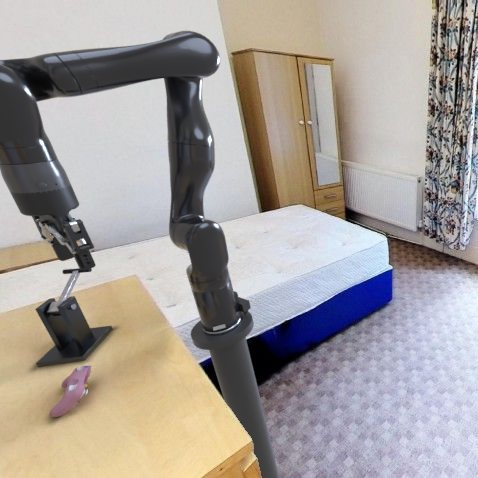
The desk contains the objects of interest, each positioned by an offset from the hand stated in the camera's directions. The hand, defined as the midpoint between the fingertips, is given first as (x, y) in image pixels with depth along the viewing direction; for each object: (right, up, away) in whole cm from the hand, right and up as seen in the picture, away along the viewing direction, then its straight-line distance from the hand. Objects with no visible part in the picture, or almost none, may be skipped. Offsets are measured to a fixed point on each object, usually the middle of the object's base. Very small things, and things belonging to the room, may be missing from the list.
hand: (77, 263), depth 65 cm
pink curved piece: (-5, -29, +4) cm, 30 cm away
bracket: (-19, -23, +18) cm, 35 cm away
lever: (-20, -9, +17) cm, 27 cm away
